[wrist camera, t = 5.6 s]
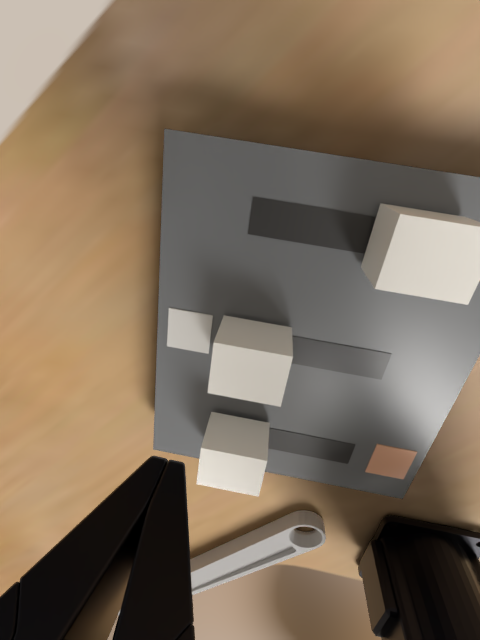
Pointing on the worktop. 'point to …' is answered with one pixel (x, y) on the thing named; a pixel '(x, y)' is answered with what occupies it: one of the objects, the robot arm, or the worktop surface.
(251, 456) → the tab
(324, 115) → the worktop surface
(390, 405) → the switch panel
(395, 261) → the tab
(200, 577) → the adjustable wrench
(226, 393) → the tab
